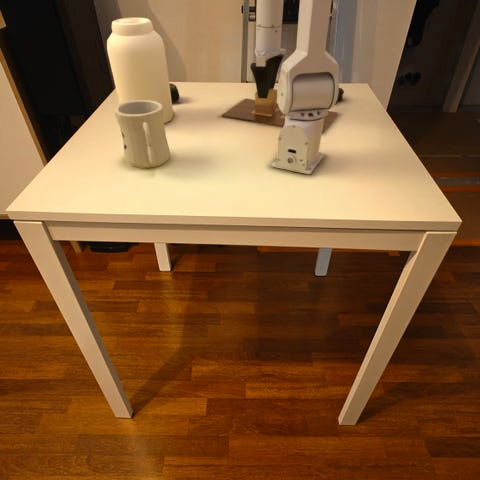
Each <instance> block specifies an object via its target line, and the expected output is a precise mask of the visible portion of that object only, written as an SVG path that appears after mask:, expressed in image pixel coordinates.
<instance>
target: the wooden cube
mask: <svg viewBox="0 0 480 480" xmlns="http://www.w3.org/2000/svg"><path fill="white" fill-rule="evenodd" d="M254 100H255V113H262V114H271V115H272V114H273V113H274V111H275V110H276V107H277V103H278V100H277V88H274V89H269V93H268V97H267V99H265V98H258V94H257V91H256V92H255V93H254Z"/></svg>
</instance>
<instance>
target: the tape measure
mask: <svg viewBox="0 0 480 480" xmlns="http://www.w3.org/2000/svg"><path fill="white" fill-rule="evenodd" d="M169 85H170V93H171V101H172V102H178V101H180V98H181V97H180V92H179V89H178V88H177V85H176V84H174V83H171V82H169Z"/></svg>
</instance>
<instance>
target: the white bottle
mask: <svg viewBox="0 0 480 480" xmlns="http://www.w3.org/2000/svg"><path fill="white" fill-rule="evenodd" d="M111 31H112V32H111V34H110V35H109V37H108V38H107V40H106V51H107V55H108V59H109V60H108V61H109V64H110V68H111V69H110V70H111V74H112V77H113V82H114V87H115V90H116V95H117V99H118V103H119V104H118V105H120V104H122V103H125V102H128V101H134V100H153V101H157V102H159V103H161V104H162V106H163V117H164V124H166V123H168V122H170V121H171V120H172V119H173V118H174V109H173V101H171V93H170V85H169V83H170V80H169V79H170V78H169V71H168V64H167V56H166V49H165V44H164V41H163V40H164V39H163V38H162V36H161V35H160V34H159V33H158V32H157V31H155V30H154V25H153V22H152V20H150V19H149V18H146V17H124V18H123V17H122V18H117V19H115V20H113V21H112V22H111Z"/></svg>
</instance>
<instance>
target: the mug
mask: <svg viewBox="0 0 480 480" xmlns="http://www.w3.org/2000/svg"><path fill="white" fill-rule="evenodd" d="M114 114H115V117H116V120H117V123H118V125H119V129H120V134H121V138H122V143H123V152H124V158H125V159H124V160H125V161H126V162H127V164H129V165H130V166H132V167H135V168H141V169H143V168H147V169H148V168H155V167H159V166H161V165H163V164H166V162H168V161H169V159H170V158H171V151H170V146H169V141H168V139H167V135H166V129H165V123H164V117H163V106H162V104H161V103H159V102H157V101H153V100H134V101H128V102H125V103H122V104H118V105H117V106H116V107H115V108H114Z"/></svg>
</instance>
